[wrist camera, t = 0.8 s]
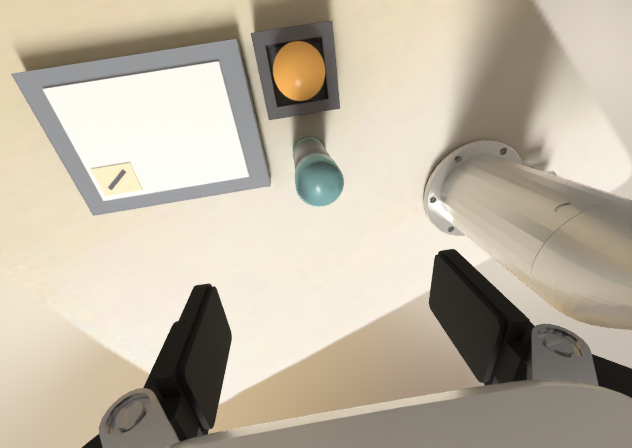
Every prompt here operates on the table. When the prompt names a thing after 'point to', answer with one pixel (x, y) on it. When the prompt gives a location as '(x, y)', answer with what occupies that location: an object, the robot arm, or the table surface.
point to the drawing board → (152, 125)
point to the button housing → (265, 53)
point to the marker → (316, 173)
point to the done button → (299, 70)
